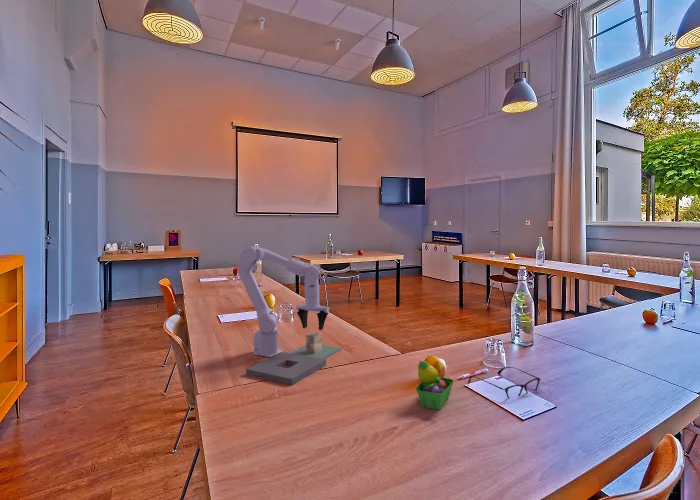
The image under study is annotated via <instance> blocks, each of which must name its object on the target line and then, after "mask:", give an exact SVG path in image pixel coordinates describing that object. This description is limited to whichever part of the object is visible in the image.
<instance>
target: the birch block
mask: <svg viewBox="0 0 700 500" xmlns="http://www.w3.org/2000/svg"><path fill="white" fill-rule="evenodd" d="M322 342H323V341H322V332H316V331H313V332H310V333H307V334H305V345H306V352H308V353H314V354H315V353H317V352H319V351H321V350H322V345H323V343H322Z"/></svg>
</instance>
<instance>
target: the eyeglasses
mask: <svg viewBox="0 0 700 500" xmlns="http://www.w3.org/2000/svg"><path fill="white" fill-rule="evenodd" d="M510 368H511V369H515V370H518V371H520V372H522V373H524V374H527V375H528V376H531V377H533V379H531V380H528V382H525V384H513V385H510V386H507V387H505V388H503V387H500V386H498V385H496V384H493V383H491V382H489V381H486V380H484V379H482V378H480V377H477V376H473V375H472V376H470V377H469V378H468V382H470V383H471V380H472V378H476V379H479V380H481V381H482V382H485V383H487V384H490V385H491V386H494V387H495V388H498V389H500V390H502V391H504V392H505V393H506V397H507V398H508V399H510V397H509V394H508V393H509V392H508V391H509V390H510V389H512V388H513V387H520V390H519V393H518V395H517V396H521V394H522V391H523V389H524V391H525V392H526V394H528V393H529V391H528V388H527V387H528V385H529V384H530V383H532V382H534V381H537V383H536V387H535V389H534V390H535V391H537V389H538V387H539V384H540V382H541V378H540V377H538V376H535V375H533V374H531V373H528V372H526V371H523V370H521V369H519V368H517V367H513V366H504V367H502V368H500V369H499V370H498V371H497V374H498V375H499V374H502V372H503V370H505V369H510Z"/></svg>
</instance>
